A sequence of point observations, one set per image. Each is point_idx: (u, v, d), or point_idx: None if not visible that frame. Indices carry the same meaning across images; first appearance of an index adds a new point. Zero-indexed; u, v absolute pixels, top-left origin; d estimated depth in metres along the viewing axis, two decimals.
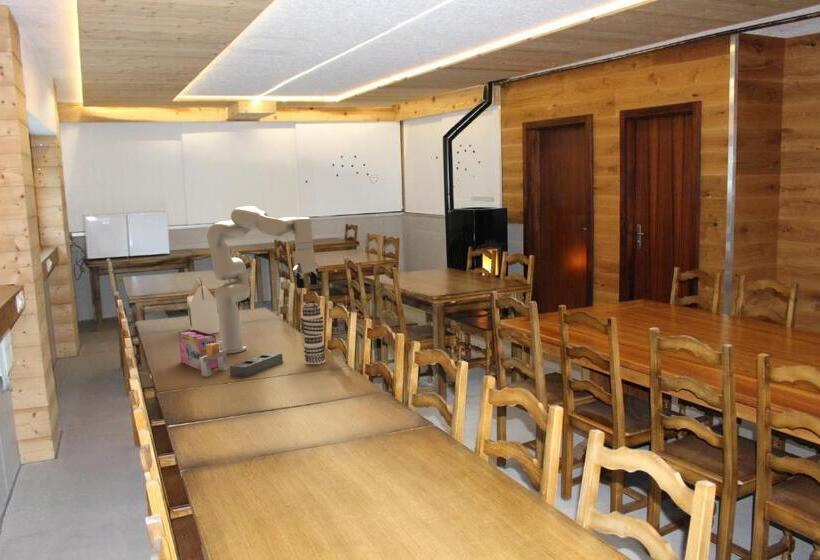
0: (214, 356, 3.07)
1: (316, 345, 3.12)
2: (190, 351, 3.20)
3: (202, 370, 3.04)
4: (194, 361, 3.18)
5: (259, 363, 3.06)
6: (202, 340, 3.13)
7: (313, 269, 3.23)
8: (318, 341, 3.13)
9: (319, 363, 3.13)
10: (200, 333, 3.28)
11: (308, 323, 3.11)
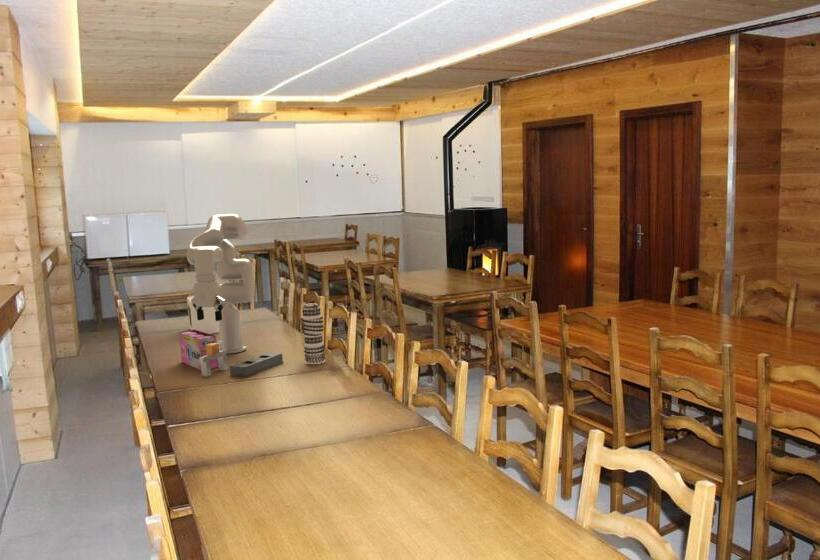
0: (214, 356, 3.07)
1: (316, 345, 3.12)
2: (191, 351, 3.20)
3: (202, 370, 3.04)
4: (195, 361, 3.18)
5: (259, 363, 3.06)
6: (202, 340, 3.13)
7: None
8: (318, 341, 3.13)
9: (319, 363, 3.13)
10: (201, 333, 3.28)
11: (308, 323, 3.11)
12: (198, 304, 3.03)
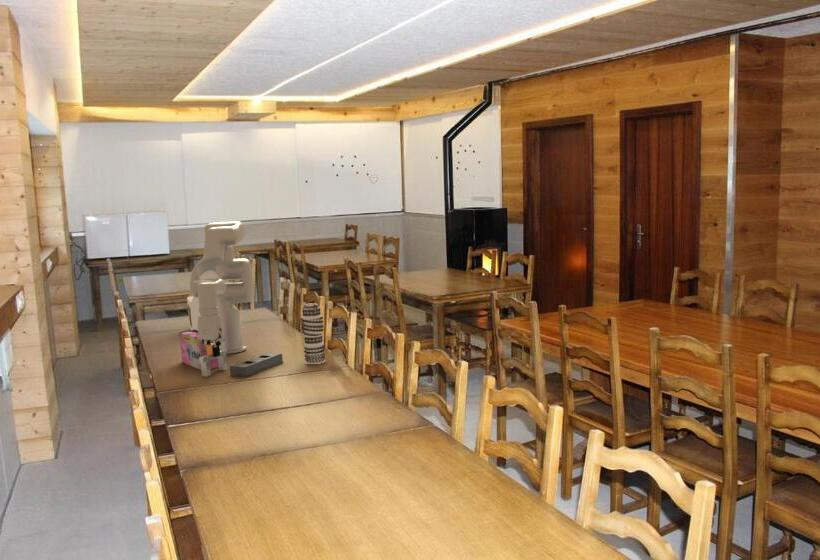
0: None
1: (316, 345, 3.12)
2: (191, 351, 3.20)
3: (202, 370, 3.04)
4: (195, 361, 3.18)
5: (259, 363, 3.06)
6: None
7: None
8: (318, 341, 3.13)
9: (319, 363, 3.13)
10: None
11: (308, 323, 3.11)
12: (201, 337, 3.06)
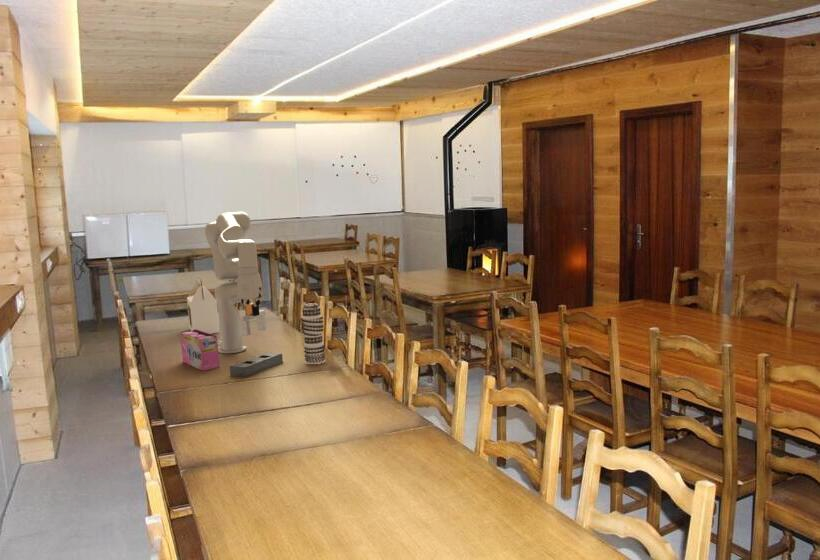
0: None
1: (316, 345, 3.12)
2: (192, 351, 3.20)
3: (242, 329, 3.04)
4: (196, 361, 3.18)
5: (259, 363, 3.06)
6: (203, 340, 3.12)
7: None
8: (318, 341, 3.13)
9: (319, 363, 3.13)
10: (202, 333, 3.28)
11: (308, 323, 3.11)
12: (241, 297, 3.06)
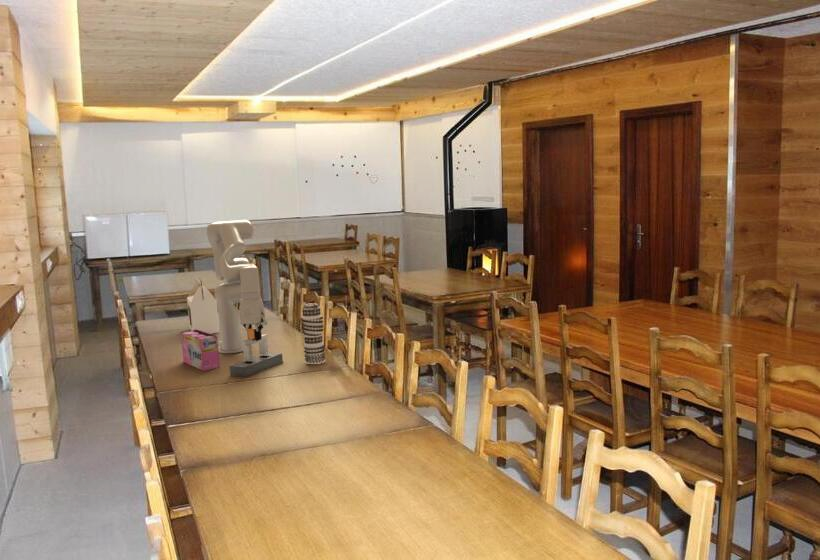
0: None
1: (316, 345, 3.12)
2: (192, 351, 3.20)
3: (244, 354, 3.05)
4: (196, 361, 3.18)
5: (259, 363, 3.06)
6: (203, 340, 3.12)
7: None
8: (318, 341, 3.13)
9: (319, 363, 3.13)
10: (202, 333, 3.28)
11: (308, 323, 3.11)
12: (243, 321, 3.07)
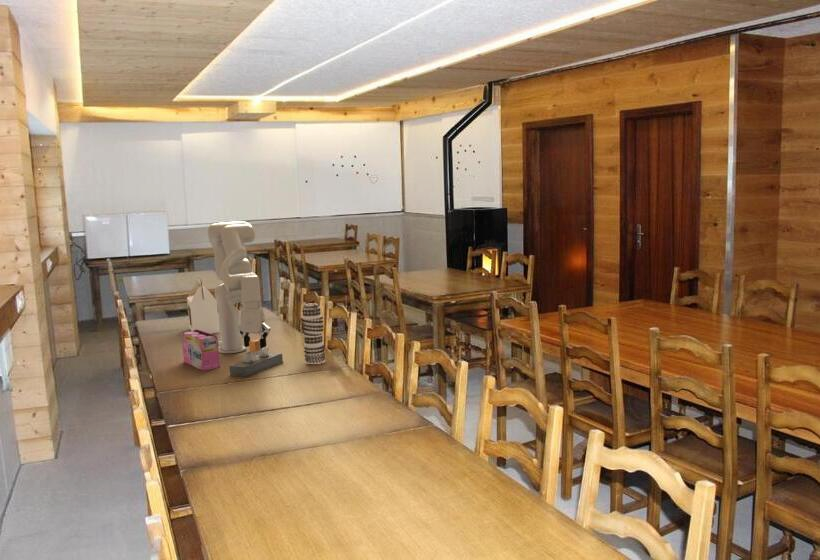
0: (257, 352, 3.09)
1: (316, 345, 3.12)
2: (193, 351, 3.20)
3: None
4: (196, 361, 3.18)
5: (259, 363, 3.06)
6: (204, 340, 3.12)
7: None
8: (318, 341, 3.13)
9: (319, 363, 3.13)
10: (203, 333, 3.28)
11: (308, 323, 3.11)
12: (244, 330, 3.08)
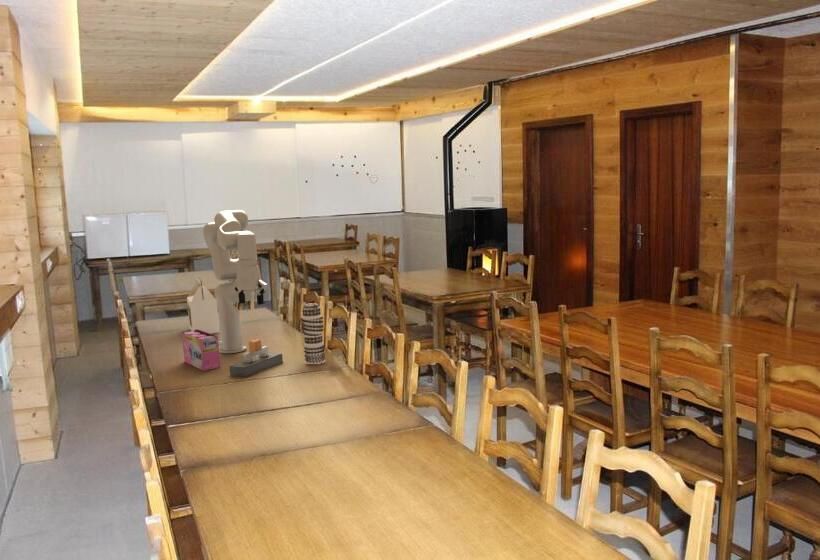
0: (256, 352, 3.09)
1: (316, 345, 3.12)
2: (193, 351, 3.20)
3: None
4: (197, 361, 3.18)
5: (259, 363, 3.06)
6: (204, 340, 3.12)
7: None
8: (318, 341, 3.13)
9: (319, 363, 3.13)
10: (203, 333, 3.28)
11: (308, 323, 3.11)
12: (240, 288, 3.09)
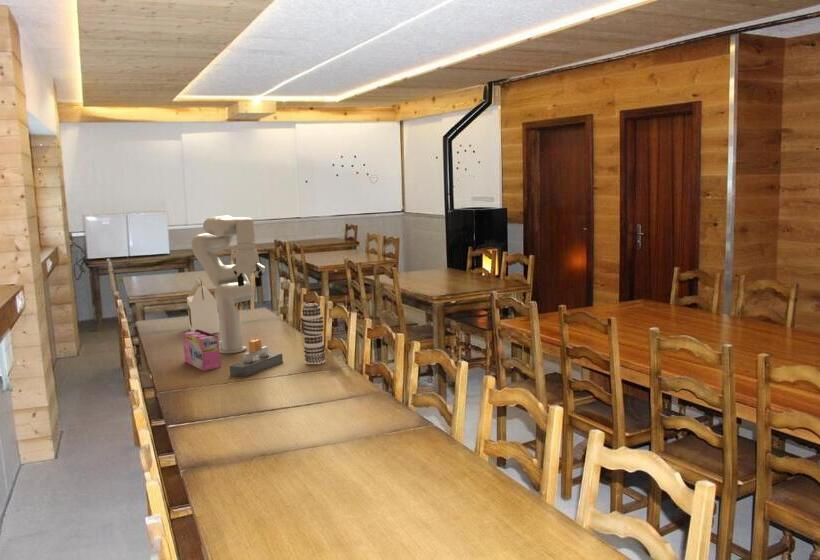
0: (256, 352, 3.09)
1: (316, 345, 3.12)
2: (193, 351, 3.20)
3: None
4: (197, 361, 3.18)
5: (259, 363, 3.06)
6: (204, 340, 3.12)
7: None
8: (318, 341, 3.13)
9: (319, 363, 3.13)
10: (204, 333, 3.28)
11: (308, 323, 3.11)
12: (239, 271, 3.22)
